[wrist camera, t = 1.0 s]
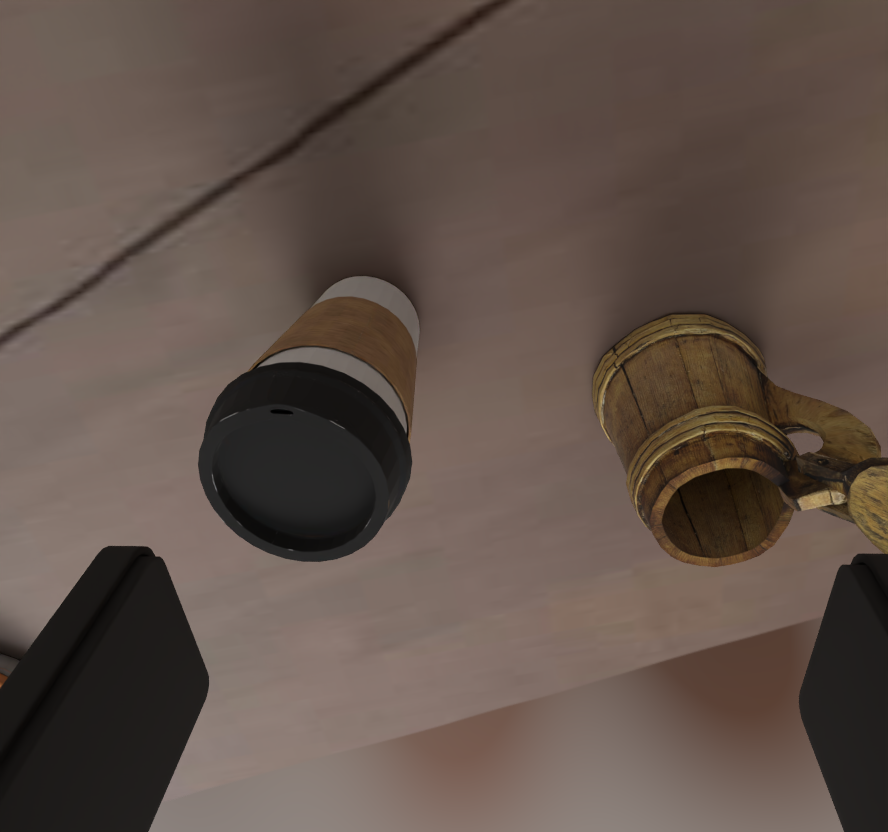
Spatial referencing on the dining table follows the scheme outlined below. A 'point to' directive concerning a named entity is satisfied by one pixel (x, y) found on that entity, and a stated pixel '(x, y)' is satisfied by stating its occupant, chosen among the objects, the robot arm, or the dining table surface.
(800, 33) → the dining table surface
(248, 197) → the dining table surface
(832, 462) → the wooden mug
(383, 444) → the coffee cup
